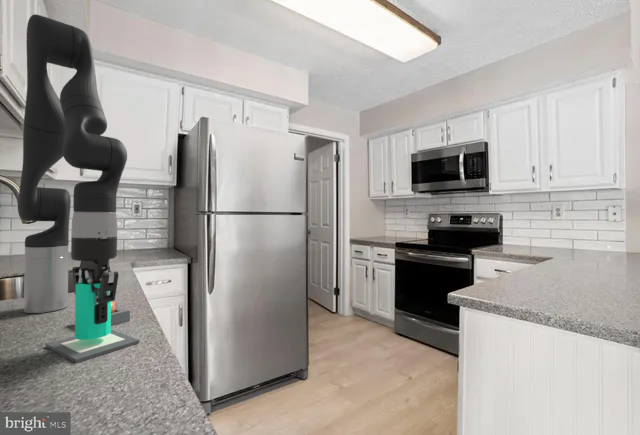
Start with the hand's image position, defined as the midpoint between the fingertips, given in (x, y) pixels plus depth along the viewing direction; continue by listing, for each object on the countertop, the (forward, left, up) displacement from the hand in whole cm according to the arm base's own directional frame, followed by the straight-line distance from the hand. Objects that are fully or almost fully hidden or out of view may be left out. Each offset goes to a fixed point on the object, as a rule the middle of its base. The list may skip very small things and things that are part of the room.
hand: (93, 320), depth 65 cm
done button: (-13, +8, -3) cm, 16 cm away
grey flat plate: (0, 0, -5) cm, 5 cm away
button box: (-13, +8, -5) cm, 16 cm away
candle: (0, 0, -3) cm, 3 cm away
